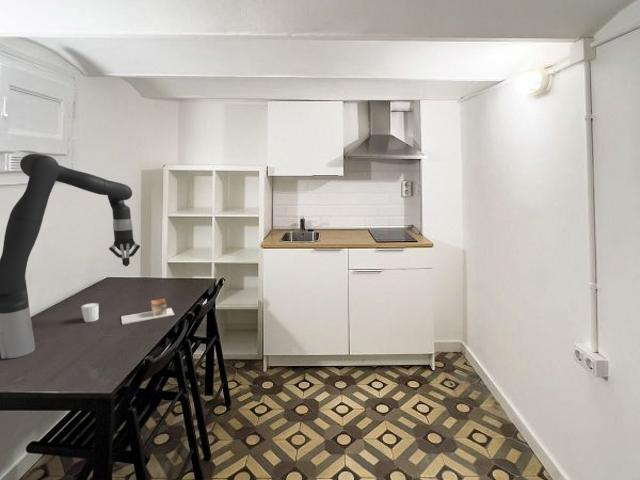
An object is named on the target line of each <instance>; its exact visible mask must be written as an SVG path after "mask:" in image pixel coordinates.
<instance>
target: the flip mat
mask: <svg viewBox="0 0 640 480" xmlns="http://www.w3.org/2000/svg"><path fill="white" fill-rule="evenodd" d="M171 316H175V313H174V310H173V309H172V307H168V308H167V314H165V315H159V316H153V314H152V310H151V311H150V310H149V311H144V312H139V313H132V314H128V315H122V316H121V325H128V324H134V323H138V322H139V323H140V322H143V321H149V320H155V319H162V318H166V317H167V318H168V317H171Z"/></svg>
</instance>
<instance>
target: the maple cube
mask: <svg viewBox="0 0 640 480" xmlns="http://www.w3.org/2000/svg"><path fill="white" fill-rule="evenodd" d="M150 303H151V304H150V306H151V311H152V314H153V316H159V315H165V314H167V307H168V306H167V301H166V299H165V298H161V299H153V300H150Z"/></svg>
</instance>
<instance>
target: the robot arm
mask: <svg viewBox="0 0 640 480" xmlns="http://www.w3.org/2000/svg"><path fill="white" fill-rule="evenodd" d="M19 167H20V169H21V171H22V172H23V174H25V175H26V176H27V177H28V182H27V186H26V188H25V191H24V192H23V194H22V195H21V197H20V198H19V200H18V201H17V202H16V203H15V205H14V206H13V207H12V210H11V211H10V214H9V217H8V220H7V223H6V227H5V232H4V239H3V246H2V247H3V248H2V251H1V252H2V253H1V256H0V358H1V360H3V359H16V358H21V357H23V356H24V357H25V356H27V355H30V354H31V353H33V352H34V351H35V350H36V344H35V338H34V332H33V323H32V317H31V309H30V304H29V295H28V287H27V280H26V272H27V267H28V266H27V265H28V261H29V257H30V255H31V252H32V251H33V248H34V246H35V243H36V241H37V239H38V235H39V233H40V230H41V228H42V227H41V226H42V224H43V221H44V216H45V212H46V209H47V206H48V202H49V199H50V196H51V193H52V191H53V188H54V186H55V185H56V183H57V182H58V183H62V184H65V185H68V186H72V187H75V188H78V189H81V190H83V191H87V192H90V193H93V194H97V195H99V196H101V195H102V196H107V199H108V202H109V205H110V207H111V210H112V211H111V212H112V229H113V237H114V240H113V241H114V242H113V245H111V246H109V247H108V250H109V251H111V253H113V254H114V255H115V256H116V257H117V258H120V259H121V262H122V265H123V266H124V267H128V266H129V265H130V264H131V262H130V258H131V257H134V255H136V253H137V251H138V250H139V249H140V247H141V246H140V244H137V243H136V242H135V240H134V231H133V222H132V216H131V215H132V214H131V209H130V206H129V205H127V204H125V201H128V200H129V199H131V197H132V195H133V190H132V189H131V187H129V186H128V185H127V184H125V183H121V182H116V181H112V180H109V179H105V178H103V177H100V176H97V175H94V174H90V173H87V172H83V171H79V170H76V169H72V168H69V167H65V166H63V165H60V164H59V162H58V161H57V160H56V159H55V158H54V157H52V156H50V155H45V154H40V153H30V154H27V155H24V156H23V157H22V158H21V160H20V162H19ZM132 248H133V249H132ZM116 249H118V251H120V253H119V252H118V251H117V250H116ZM130 250H131V252H130Z"/></svg>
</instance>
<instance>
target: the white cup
mask: <svg viewBox="0 0 640 480" xmlns="http://www.w3.org/2000/svg"><path fill="white" fill-rule="evenodd" d="M99 305H100V303H98V302H92V303H91V302H90V303H89V302H88V303H86V304H83V305H81V306H80V309H81V313H82V317H83V321H84V323H85V322H86V323H90V322H91V323H92V322H96V321H97V320H99V316H100V315H99V313H100V312H99Z"/></svg>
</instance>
